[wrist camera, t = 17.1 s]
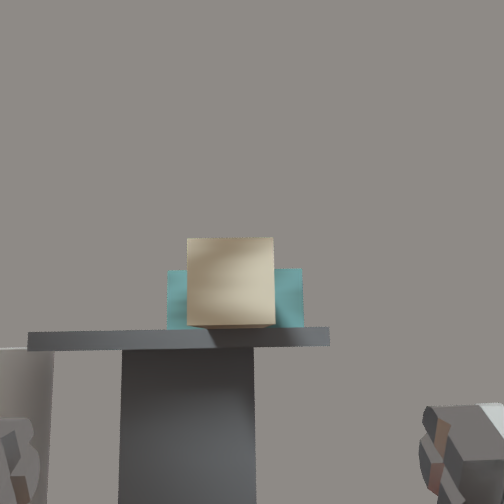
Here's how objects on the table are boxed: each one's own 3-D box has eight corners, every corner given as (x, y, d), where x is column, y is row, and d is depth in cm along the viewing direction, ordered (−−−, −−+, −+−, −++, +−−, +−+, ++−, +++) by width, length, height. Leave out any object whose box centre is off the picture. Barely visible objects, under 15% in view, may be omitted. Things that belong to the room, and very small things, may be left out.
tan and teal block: (112, 326, 16) (115, 225, 17) (183, 331, 36) (183, 284, 37) (348, 322, 16) (343, 222, 17) (290, 329, 36) (289, 282, 37)
